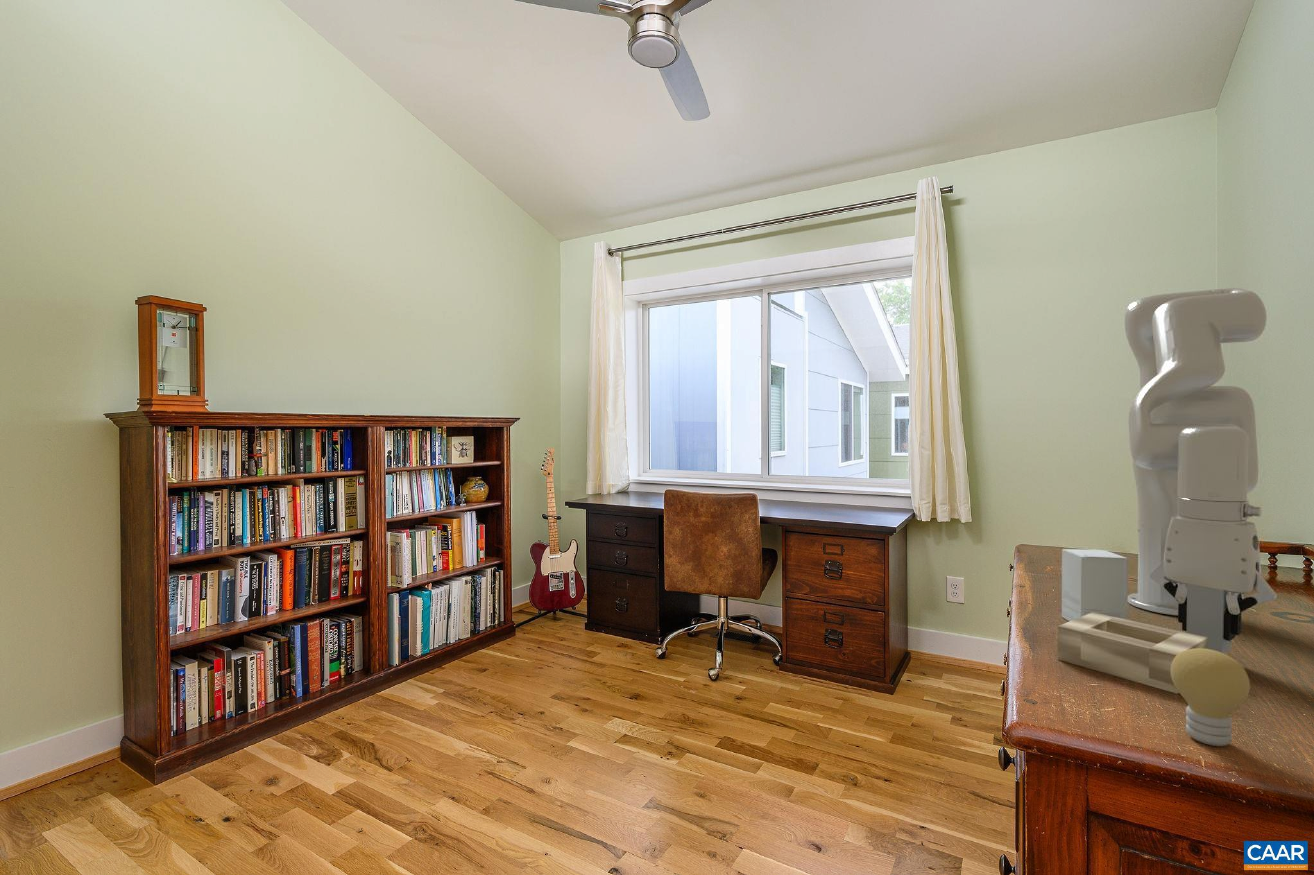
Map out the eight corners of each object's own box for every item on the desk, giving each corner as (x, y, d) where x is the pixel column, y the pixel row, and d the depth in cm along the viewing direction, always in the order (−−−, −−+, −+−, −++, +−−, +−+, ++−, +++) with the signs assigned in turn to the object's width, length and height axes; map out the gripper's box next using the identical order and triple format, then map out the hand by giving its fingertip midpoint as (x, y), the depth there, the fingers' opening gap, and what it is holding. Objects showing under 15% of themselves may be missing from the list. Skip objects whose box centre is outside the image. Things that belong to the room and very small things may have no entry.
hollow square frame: (1092, 643, 96) (1092, 612, 96) (1207, 672, 85) (1208, 637, 85) (1057, 659, 90) (1057, 626, 90) (1177, 693, 78) (1177, 655, 78)
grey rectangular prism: (1195, 640, 92) (1196, 576, 91) (1230, 649, 89) (1232, 581, 88) (1186, 646, 90) (1187, 580, 89) (1222, 655, 86) (1223, 586, 86)
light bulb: (1155, 727, 69) (1155, 641, 69) (1206, 725, 70) (1207, 639, 70) (1210, 757, 63) (1211, 662, 63) (1266, 754, 63) (1267, 660, 63)
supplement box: (1129, 632, 101) (1129, 558, 101) (1079, 630, 103) (1080, 556, 103) (1105, 619, 109) (1106, 549, 108) (1060, 616, 110) (1060, 547, 110)
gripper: (1299, 515, 83) (1296, 645, 84) (1150, 501, 97) (1148, 613, 98) (1285, 521, 79) (1282, 658, 80) (1131, 506, 93) (1130, 623, 94)
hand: (1208, 632), depth 89 cm, fingers closed on grey rectangular prism, 4 cm apart
